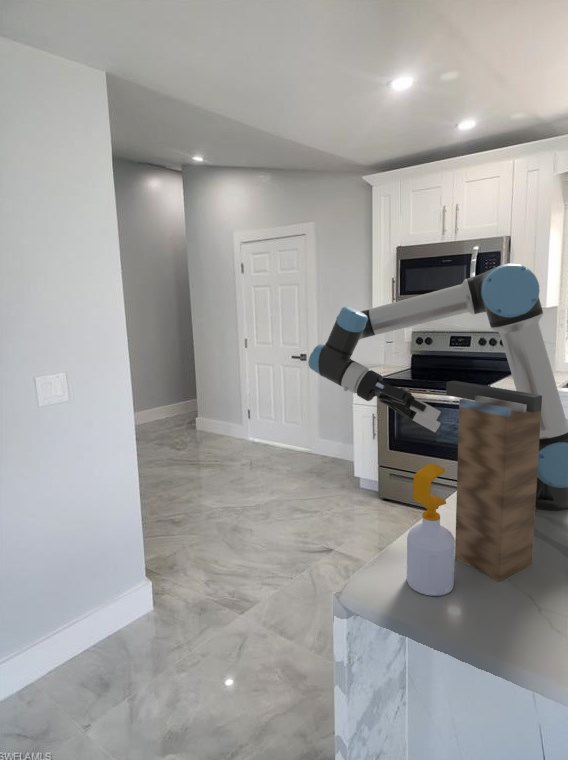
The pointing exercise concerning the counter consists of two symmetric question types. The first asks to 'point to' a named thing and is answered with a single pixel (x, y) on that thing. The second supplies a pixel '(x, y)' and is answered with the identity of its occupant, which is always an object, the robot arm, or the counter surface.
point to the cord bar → (493, 394)
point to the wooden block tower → (496, 485)
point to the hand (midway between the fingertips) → (438, 422)
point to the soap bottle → (430, 541)
